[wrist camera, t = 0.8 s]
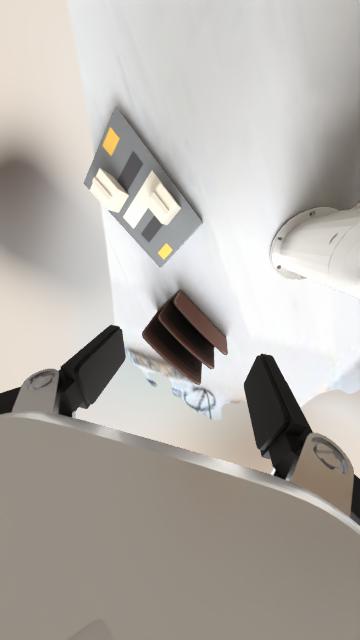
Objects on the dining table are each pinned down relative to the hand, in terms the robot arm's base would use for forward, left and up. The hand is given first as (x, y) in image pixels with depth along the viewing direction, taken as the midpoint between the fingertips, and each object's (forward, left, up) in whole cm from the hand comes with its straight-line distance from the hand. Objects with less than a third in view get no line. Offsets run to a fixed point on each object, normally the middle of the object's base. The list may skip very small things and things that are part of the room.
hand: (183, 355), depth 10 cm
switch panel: (0, -19, -29) cm, 35 cm away
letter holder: (+12, +9, -30) cm, 34 cm away
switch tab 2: (-3, -15, -27) cm, 31 cm away
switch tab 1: (+3, -24, -27) cm, 36 cm away
